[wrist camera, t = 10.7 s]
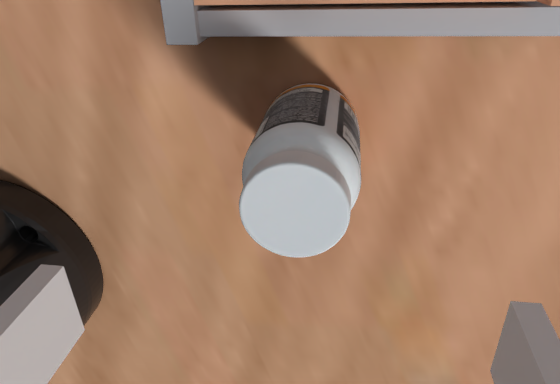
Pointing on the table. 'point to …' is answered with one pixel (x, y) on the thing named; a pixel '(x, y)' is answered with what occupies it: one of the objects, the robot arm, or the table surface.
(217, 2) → the crate
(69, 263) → the robot arm
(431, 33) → the bay
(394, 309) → the table surface
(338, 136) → the pill bottle
